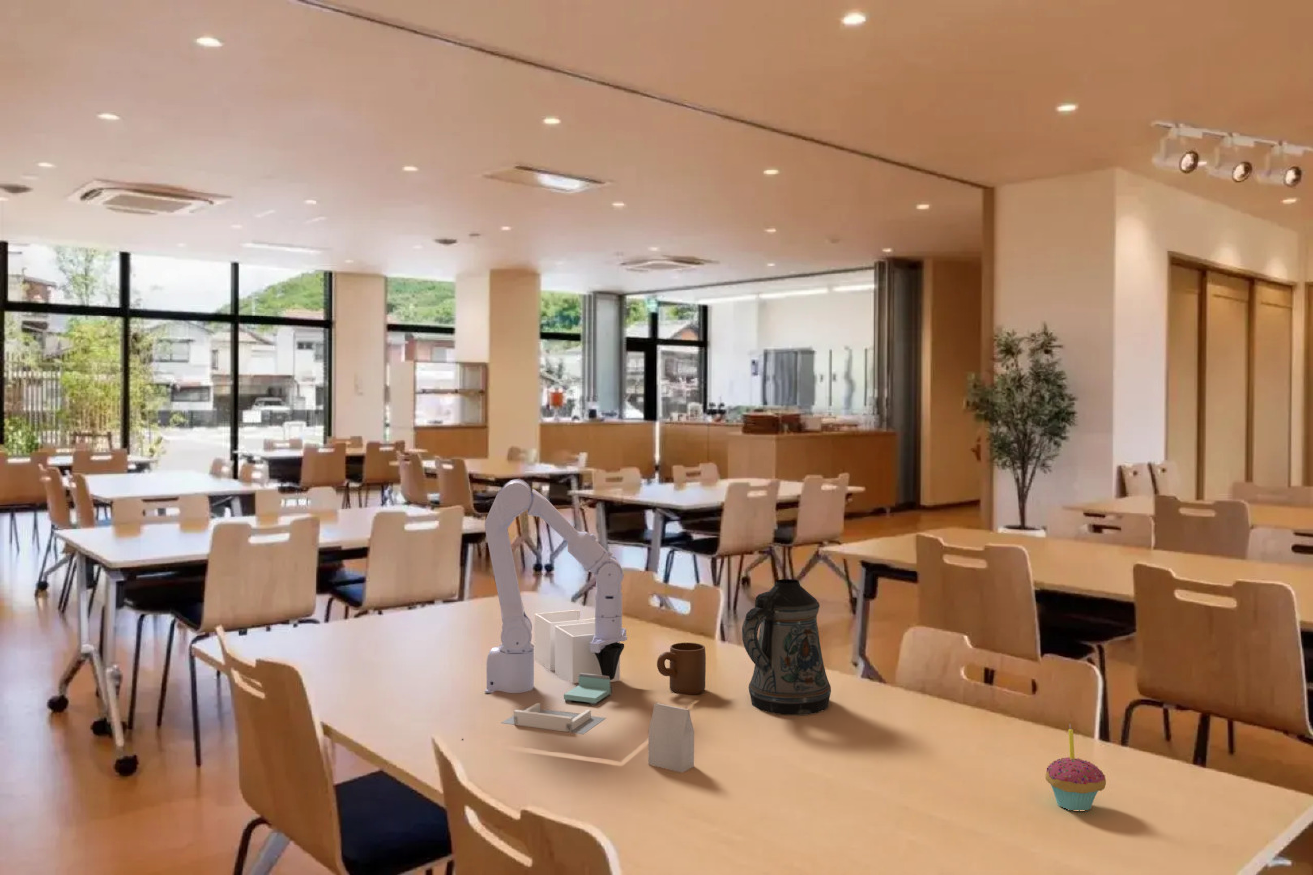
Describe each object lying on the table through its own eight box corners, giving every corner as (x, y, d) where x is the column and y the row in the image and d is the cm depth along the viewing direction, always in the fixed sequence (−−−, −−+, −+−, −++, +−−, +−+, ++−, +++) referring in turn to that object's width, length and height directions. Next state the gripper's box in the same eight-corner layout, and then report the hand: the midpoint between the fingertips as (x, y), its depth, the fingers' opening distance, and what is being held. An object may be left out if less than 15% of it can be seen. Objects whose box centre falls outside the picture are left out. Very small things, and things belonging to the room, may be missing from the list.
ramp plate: (545, 710, 199) (545, 709, 199) (556, 706, 204) (557, 705, 204) (587, 715, 196) (587, 715, 196) (598, 711, 201) (598, 710, 201)
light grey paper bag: (682, 773, 168) (682, 713, 168) (648, 764, 172) (648, 706, 172) (693, 766, 171) (694, 707, 171) (660, 758, 175) (660, 700, 175)
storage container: (534, 660, 240) (534, 613, 240) (578, 655, 245) (578, 609, 244) (572, 687, 218) (572, 636, 217) (619, 681, 222) (619, 631, 222)
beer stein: (839, 697, 211) (841, 577, 210) (813, 725, 193) (815, 593, 192) (763, 687, 218) (764, 571, 217) (731, 713, 200) (732, 586, 199)
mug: (669, 702, 207) (670, 656, 207) (645, 693, 213) (646, 649, 212) (712, 691, 215) (713, 647, 214) (688, 683, 220) (689, 640, 220)
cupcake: (1035, 796, 159) (1036, 720, 159) (1087, 794, 160) (1089, 718, 160) (1061, 818, 151) (1063, 738, 150) (1116, 817, 152) (1118, 737, 151)
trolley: (563, 705, 205) (563, 681, 204) (581, 694, 212) (581, 671, 212) (595, 709, 202) (595, 685, 202) (611, 698, 209) (612, 675, 209)
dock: (501, 726, 191) (501, 709, 191) (526, 711, 201) (526, 695, 200) (583, 737, 185) (583, 720, 185) (605, 721, 194) (606, 704, 194)
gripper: (612, 623, 207) (612, 689, 208) (639, 609, 221) (639, 671, 222) (580, 620, 210) (580, 686, 211) (609, 607, 224) (609, 668, 224)
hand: (608, 678), depth 216 cm, fingers closed
